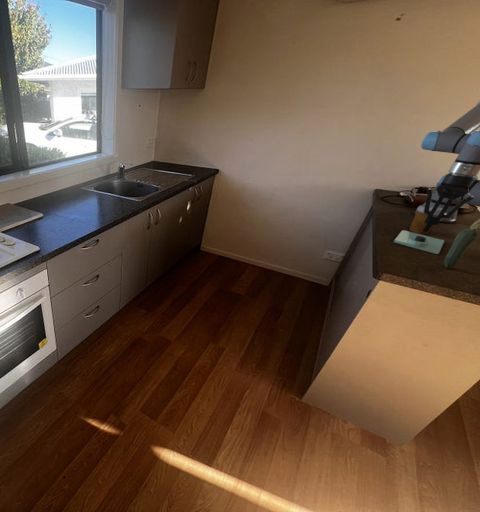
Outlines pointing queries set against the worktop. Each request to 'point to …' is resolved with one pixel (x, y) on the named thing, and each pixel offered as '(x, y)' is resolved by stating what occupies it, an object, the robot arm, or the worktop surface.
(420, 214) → the disposable coffee cup
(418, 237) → the button
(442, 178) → the robot arm
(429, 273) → the worktop surface
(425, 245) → the scale
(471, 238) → the vegetable
